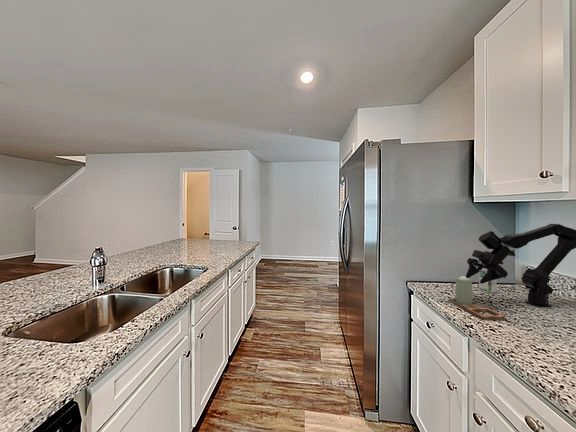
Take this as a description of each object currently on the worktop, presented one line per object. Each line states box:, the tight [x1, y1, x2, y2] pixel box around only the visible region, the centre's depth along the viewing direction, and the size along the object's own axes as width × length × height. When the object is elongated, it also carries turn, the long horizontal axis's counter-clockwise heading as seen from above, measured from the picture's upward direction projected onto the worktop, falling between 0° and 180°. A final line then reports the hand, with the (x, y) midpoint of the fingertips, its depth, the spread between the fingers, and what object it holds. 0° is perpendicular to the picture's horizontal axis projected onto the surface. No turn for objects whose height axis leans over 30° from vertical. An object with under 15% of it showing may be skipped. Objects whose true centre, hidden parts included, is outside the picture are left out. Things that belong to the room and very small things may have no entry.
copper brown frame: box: [448, 298, 506, 321], centre depth 115 cm, size 9×22×1 cm, turn 0°
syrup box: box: [478, 268, 497, 294], centre depth 140 cm, size 6×6×14 cm
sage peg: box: [455, 277, 473, 305], centre depth 121 cm, size 4×4×12 cm
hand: (473, 280), depth 121 cm, fingers open, 9 cm apart
